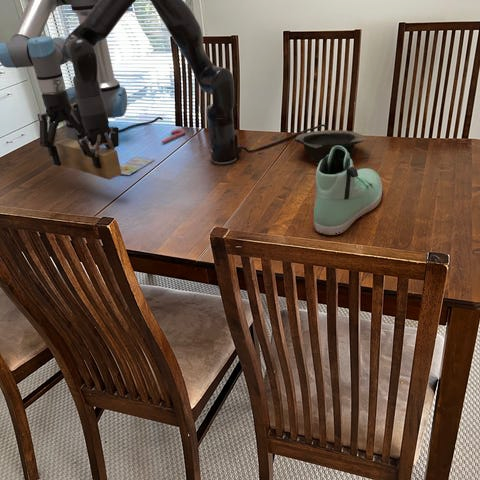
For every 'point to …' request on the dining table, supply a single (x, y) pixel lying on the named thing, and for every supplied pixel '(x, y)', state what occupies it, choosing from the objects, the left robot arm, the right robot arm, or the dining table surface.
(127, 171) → the baking ingredient package
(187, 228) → the dining table surface
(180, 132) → the candy cane
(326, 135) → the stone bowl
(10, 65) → the left robot arm
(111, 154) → the bar
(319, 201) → the sneaker
